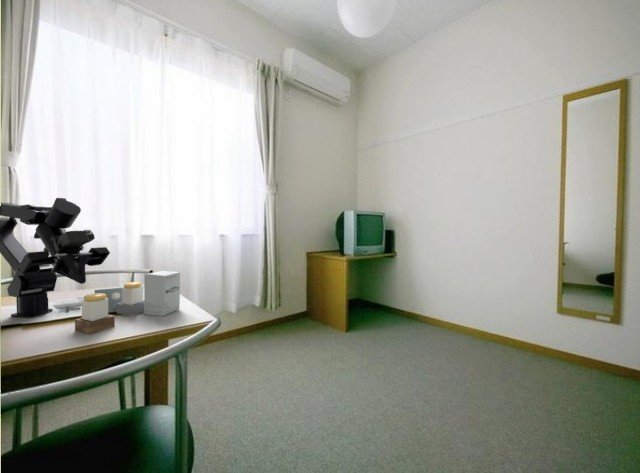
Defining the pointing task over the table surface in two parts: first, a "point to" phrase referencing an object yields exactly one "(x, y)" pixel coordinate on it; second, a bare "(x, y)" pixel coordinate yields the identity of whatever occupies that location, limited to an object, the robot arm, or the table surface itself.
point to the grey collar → (130, 308)
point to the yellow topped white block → (132, 293)
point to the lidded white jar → (94, 307)
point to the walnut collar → (94, 325)
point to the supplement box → (161, 292)
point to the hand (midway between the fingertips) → (83, 282)
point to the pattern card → (112, 296)
